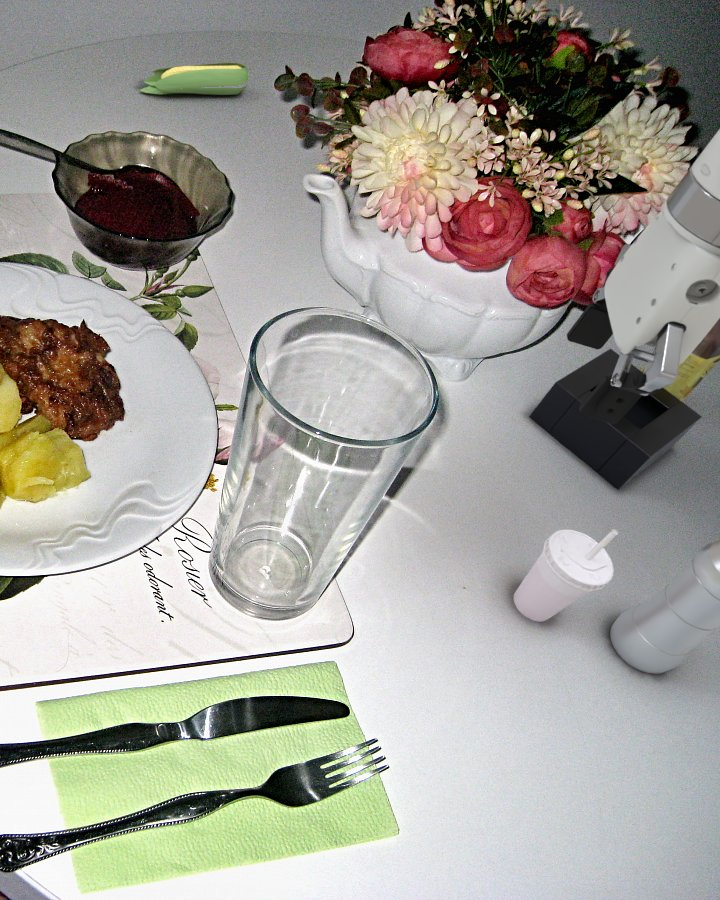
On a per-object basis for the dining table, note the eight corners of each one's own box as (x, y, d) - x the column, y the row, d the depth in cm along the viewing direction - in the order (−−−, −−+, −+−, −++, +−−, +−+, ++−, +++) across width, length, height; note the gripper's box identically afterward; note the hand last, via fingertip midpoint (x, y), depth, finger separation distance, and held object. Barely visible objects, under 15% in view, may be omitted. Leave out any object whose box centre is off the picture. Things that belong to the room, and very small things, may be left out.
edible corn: (250, 99, 152) (259, 73, 149) (145, 101, 144) (151, 75, 141) (237, 83, 155) (245, 57, 151) (133, 85, 147) (138, 58, 144)
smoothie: (557, 647, 89) (645, 570, 78) (495, 621, 89) (574, 541, 79) (558, 597, 93) (641, 517, 82) (498, 573, 93) (574, 491, 83)
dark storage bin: (664, 454, 111) (702, 416, 106) (613, 495, 105) (650, 456, 99) (578, 387, 117) (610, 348, 112) (524, 421, 110) (555, 382, 105)
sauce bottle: (670, 427, 115) (784, 309, 100) (623, 410, 115) (730, 290, 101) (666, 395, 119) (774, 277, 105) (620, 378, 120) (722, 259, 105)
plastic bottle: (598, 614, 92) (733, 496, 77) (662, 636, 92) (810, 523, 77) (603, 667, 88) (747, 553, 73) (670, 691, 88) (828, 582, 73)
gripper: (810, 298, 59) (647, 463, 71) (746, 167, 70) (616, 329, 83) (699, 265, 59) (557, 435, 72) (654, 140, 70) (538, 306, 83)
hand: (589, 378), depth 77 cm, fingers open, 9 cm apart
